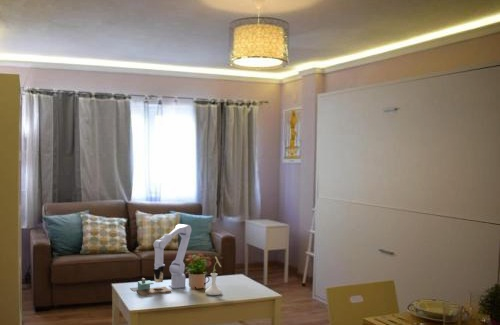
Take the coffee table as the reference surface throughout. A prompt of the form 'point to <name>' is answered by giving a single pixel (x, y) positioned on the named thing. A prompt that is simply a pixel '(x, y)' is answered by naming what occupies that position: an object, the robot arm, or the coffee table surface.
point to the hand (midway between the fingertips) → (158, 277)
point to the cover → (144, 284)
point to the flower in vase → (213, 288)
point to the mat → (134, 289)
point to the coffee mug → (208, 278)
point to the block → (159, 278)
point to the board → (154, 291)
